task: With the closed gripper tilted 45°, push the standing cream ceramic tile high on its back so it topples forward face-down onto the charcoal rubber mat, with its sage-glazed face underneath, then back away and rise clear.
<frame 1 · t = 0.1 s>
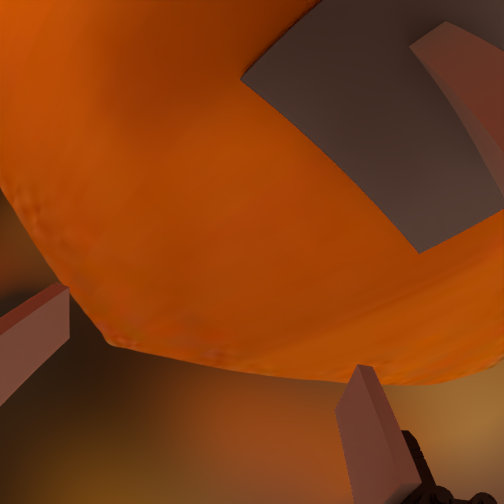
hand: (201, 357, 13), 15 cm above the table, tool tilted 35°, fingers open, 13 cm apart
tile: (471, 98, 15), point 1 cm above the table, touching mat
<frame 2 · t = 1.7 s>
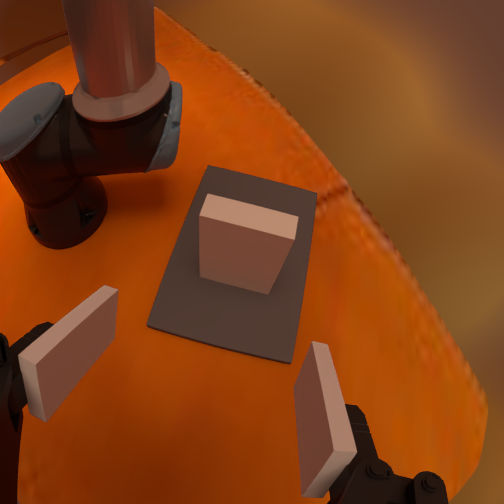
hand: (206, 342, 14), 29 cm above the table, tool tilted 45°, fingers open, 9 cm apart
mat: (242, 252, 50), on the table
tile: (236, 276, 47), point 1 cm above the table, touching mat
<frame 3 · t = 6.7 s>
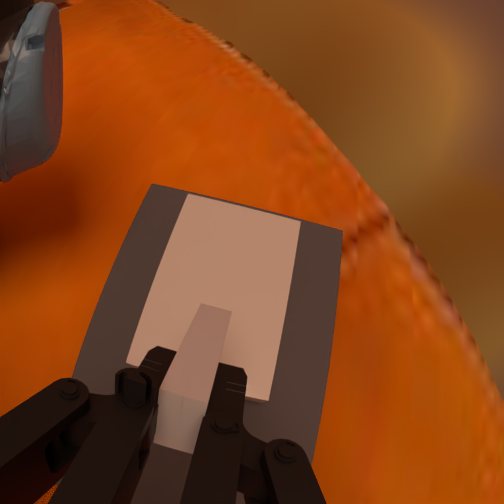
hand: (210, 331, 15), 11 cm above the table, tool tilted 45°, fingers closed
mat: (205, 357, 25), on the table
tile: (196, 386, 22), point 3 cm above the table, tilted 90°, touching mat
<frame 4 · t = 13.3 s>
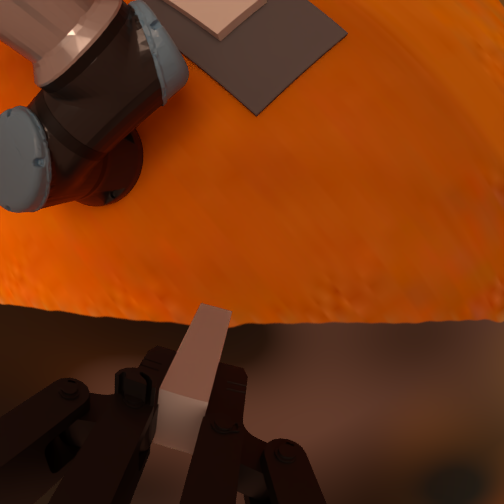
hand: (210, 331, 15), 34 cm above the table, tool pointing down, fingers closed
mat: (231, 14, 40), on the table
tile: (243, 16, 38), point 3 cm above the table, tilted 90°, touching mat
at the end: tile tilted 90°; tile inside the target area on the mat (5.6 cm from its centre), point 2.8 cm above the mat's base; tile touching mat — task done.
